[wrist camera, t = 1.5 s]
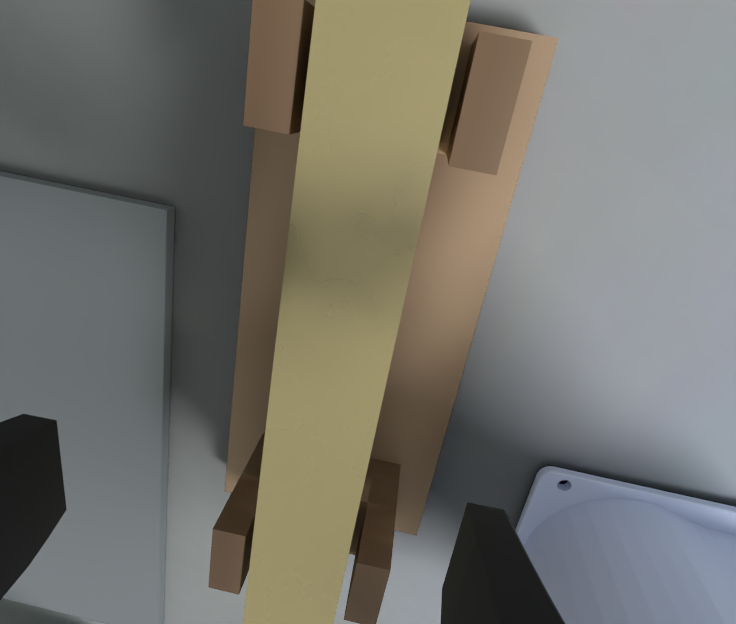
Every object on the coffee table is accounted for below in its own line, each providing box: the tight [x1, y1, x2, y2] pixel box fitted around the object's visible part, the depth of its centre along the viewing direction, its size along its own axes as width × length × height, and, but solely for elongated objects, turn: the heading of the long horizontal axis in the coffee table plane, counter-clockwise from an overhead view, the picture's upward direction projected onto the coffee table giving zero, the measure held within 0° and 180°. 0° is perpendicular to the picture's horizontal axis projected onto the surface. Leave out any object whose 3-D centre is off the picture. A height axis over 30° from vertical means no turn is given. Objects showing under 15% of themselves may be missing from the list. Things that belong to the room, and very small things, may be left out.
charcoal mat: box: [0, 171, 175, 624], centre depth 22 cm, size 10×22×1 cm, turn 170°
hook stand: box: [209, 0, 558, 624], centre depth 16 cm, size 8×18×6 cm, turn 170°
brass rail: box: [243, 0, 471, 624], centre depth 14 cm, size 3×19×3 cm, turn 170°
